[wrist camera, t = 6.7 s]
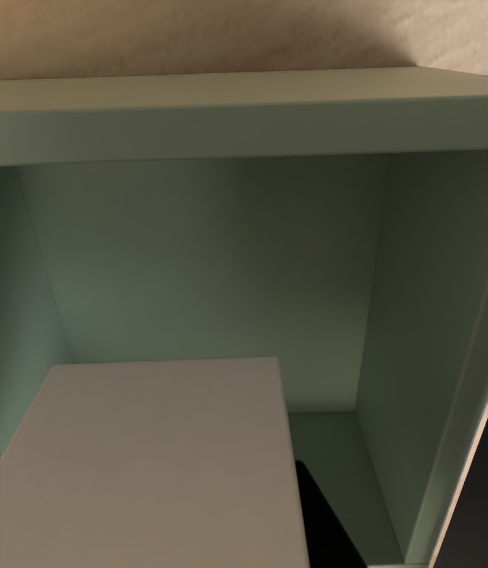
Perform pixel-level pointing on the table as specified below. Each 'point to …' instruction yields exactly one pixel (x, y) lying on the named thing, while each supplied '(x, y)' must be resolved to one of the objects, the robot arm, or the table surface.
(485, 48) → the table surface
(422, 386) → the open box
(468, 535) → the box lid
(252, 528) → the white block
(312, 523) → the robot arm
